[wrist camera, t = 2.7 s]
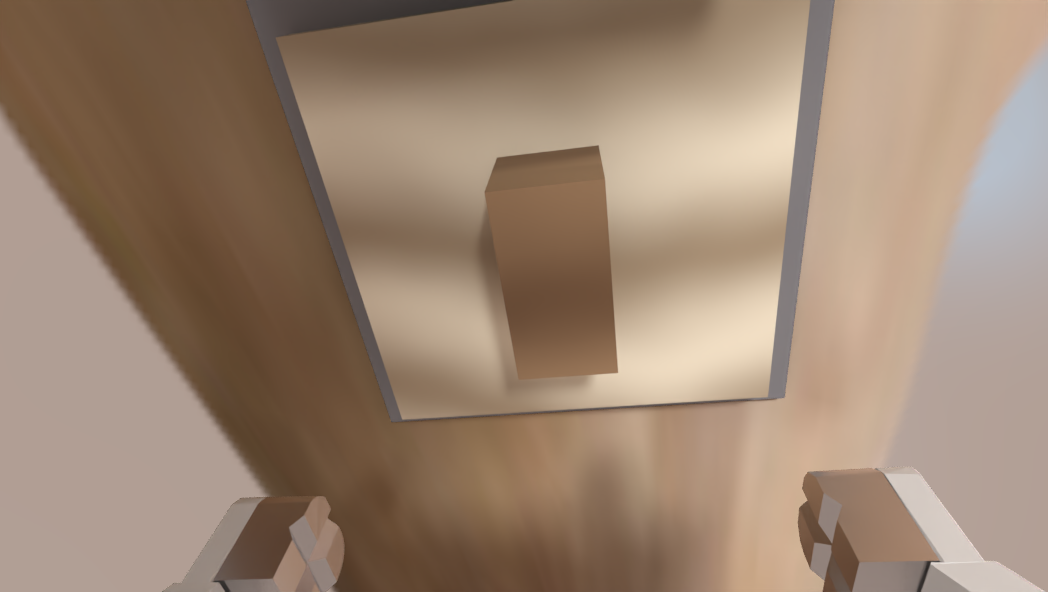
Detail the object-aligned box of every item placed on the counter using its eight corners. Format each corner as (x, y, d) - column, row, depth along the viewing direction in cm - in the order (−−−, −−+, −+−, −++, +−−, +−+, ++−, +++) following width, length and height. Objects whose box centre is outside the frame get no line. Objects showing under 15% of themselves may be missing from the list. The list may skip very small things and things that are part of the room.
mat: (252, -1, 16) (245, 0, 16) (840, -98, 14) (847, -100, 14) (393, 415, 24) (391, 422, 23) (780, 391, 22) (784, 397, 21)
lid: (291, 34, 16) (215, 51, 12) (800, -46, 14) (875, -52, 11) (408, 402, 23) (380, 479, 19) (759, 379, 21) (797, 459, 18)
